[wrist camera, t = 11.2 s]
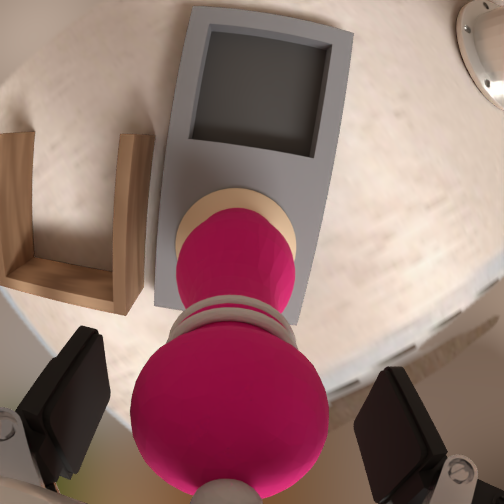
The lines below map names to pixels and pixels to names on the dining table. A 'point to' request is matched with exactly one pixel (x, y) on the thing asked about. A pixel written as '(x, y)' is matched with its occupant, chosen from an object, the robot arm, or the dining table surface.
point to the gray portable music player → (252, 133)
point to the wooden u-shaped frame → (68, 275)
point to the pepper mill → (231, 372)
